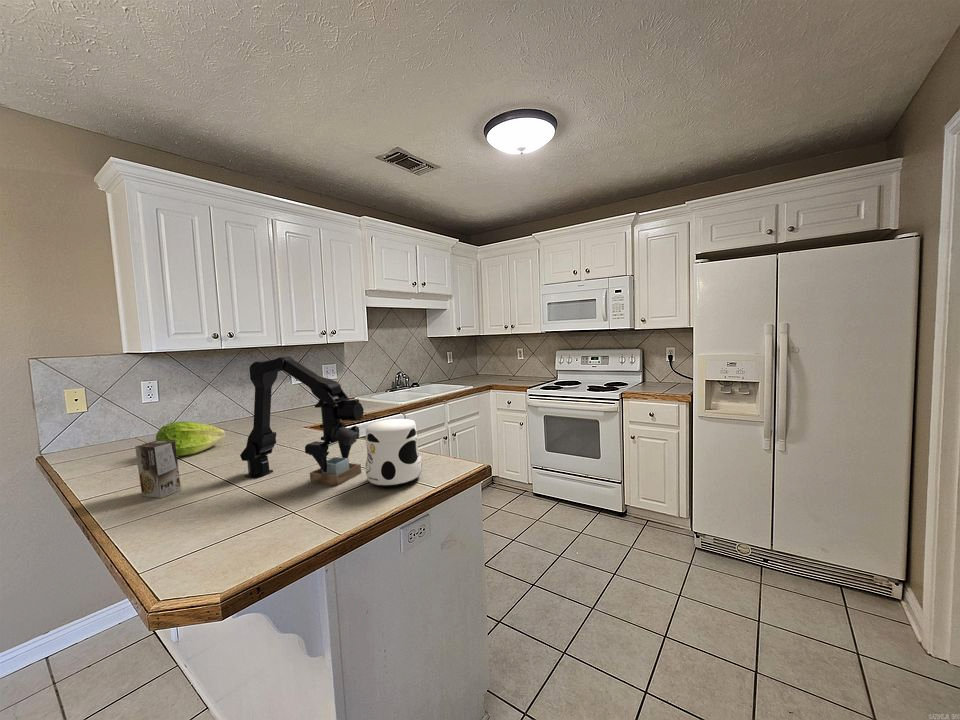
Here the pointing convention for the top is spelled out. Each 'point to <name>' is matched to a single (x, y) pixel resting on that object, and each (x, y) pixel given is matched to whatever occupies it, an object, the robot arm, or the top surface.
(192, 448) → the lettuce
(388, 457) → the milk container
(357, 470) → the brown wooden tray
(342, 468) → the small crate
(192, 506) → the top surface
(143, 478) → the coffee box
